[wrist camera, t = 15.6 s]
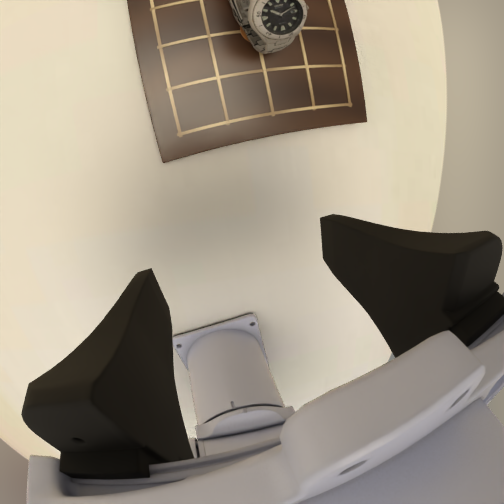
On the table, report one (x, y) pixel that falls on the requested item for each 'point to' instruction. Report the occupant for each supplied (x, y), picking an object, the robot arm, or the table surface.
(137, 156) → the table surface
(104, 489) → the robot arm
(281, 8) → the wristwatch
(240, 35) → the board
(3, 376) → the table surface
